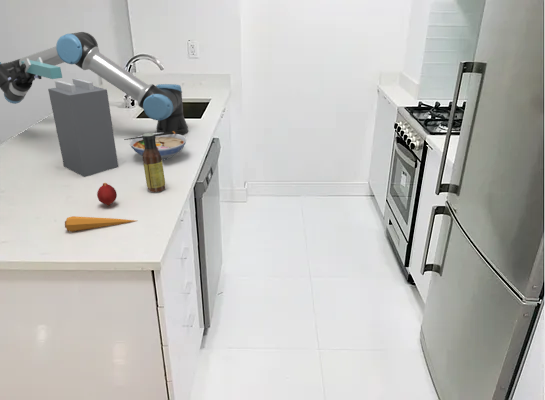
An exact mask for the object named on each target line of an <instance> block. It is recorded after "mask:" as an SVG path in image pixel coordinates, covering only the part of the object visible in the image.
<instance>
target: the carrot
mask: <svg viewBox="0 0 545 400" xmlns="http://www.w3.org/2000/svg"><path fill="white" fill-rule="evenodd" d="M134 222H137V220H134V219H126V218H125V219H124V218H111V217H94V216H93V217H92V216H91V217H89V216H69V217H67V218H66V219H65V221H64V228H65V229H66V231H67V232H70V233H71V232H79V231H86V230H91V229H97V228H100V229H101V228H105V227H111V226H119V225H125V224H129V223H134Z"/></svg>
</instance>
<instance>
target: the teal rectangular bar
mask: <svg viewBox="0 0 545 400" xmlns="http://www.w3.org/2000/svg"><path fill="white" fill-rule="evenodd" d="M29 61H30V63H31V66H30V67H29V69H28V71H27V72H28V73H32V74H35V75H39V76H42V77H43V78H46V79H49V80H54V79H56V80H57V79H63V74H62V68H61V66H58V65H55V66H54V65H49V64H45V63H41V62H37V61H32V60H29ZM24 62H25V61H21V63H22V64H24ZM24 71H25V70H24ZM42 77H41V78H42Z"/></svg>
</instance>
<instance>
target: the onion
mask: <svg viewBox="0 0 545 400" xmlns="http://www.w3.org/2000/svg"><path fill="white" fill-rule="evenodd" d="M96 195H97V199H98V201H99V202H100V203H102V204H104V205H105V206H107V207H108V206H111V205H112V204H113V203H114V202H115V201H116V199H117V197H118V195H117V190H116V188H115V187H113V186H112V185H111V184H109V183H108V182H103V183H102V185H101V186H100V187H99V188H98V190H97V193H96Z"/></svg>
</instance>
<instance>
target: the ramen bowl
mask: <svg viewBox="0 0 545 400" xmlns="http://www.w3.org/2000/svg"><path fill="white" fill-rule="evenodd" d="M153 133H154V134H155V137H156V138H155V142H156V146H157V148H158V151H159V153H160V155H161V157H162V161H164V159H165V160H167V158H168V159H169V158H172V157H175V156H176V155H178V154H179V153H180V152H181V151H182V149H183V148H184V147H185V145H186V144H187V138H186V136H184V135H180V134H177V133H184V131H183V130H178V131H172V132H166V133H157V132H153ZM123 139H124V141H126V140H127V141H128V140H129V145H130V147H131V148H132V150H133V151H134V152H135V153H136V154H138V155H139V156H141V157H143V152H144V149H145V147H144V146H145V145H144V140H143V134H142V135H138V136H136V137H131V138H123Z"/></svg>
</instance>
